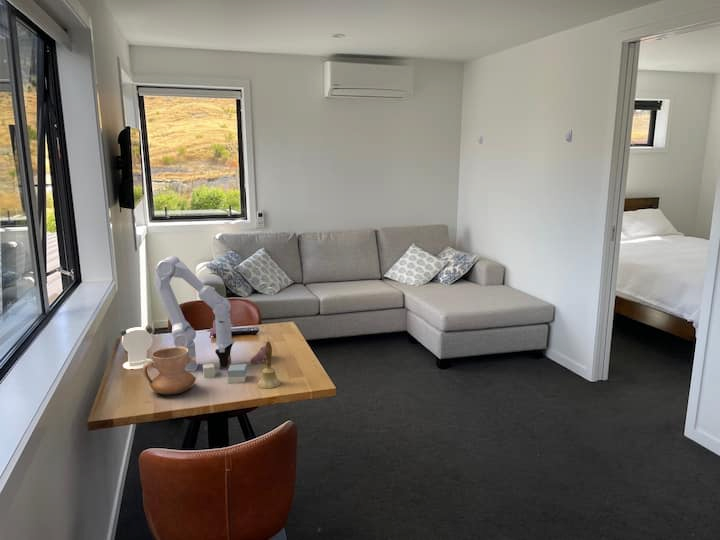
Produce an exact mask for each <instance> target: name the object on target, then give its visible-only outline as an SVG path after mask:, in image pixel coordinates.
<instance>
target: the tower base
mask: <svg viewBox="0 0 720 540" xmlns="http://www.w3.org/2000/svg"><path fill="white" fill-rule="evenodd" d="M245 378H247V373H246V374H245V377H228V376H227V384H233V383H234V384H236V383H239V382H240V383H245V382H246V379H245Z"/></svg>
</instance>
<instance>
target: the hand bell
mask: <svg viewBox="0 0 720 540" xmlns="http://www.w3.org/2000/svg"><path fill="white" fill-rule="evenodd" d="M264 346H265V356H266V358H265V360H266V361H265V363H266V365H265V368H264V369H263V370H262V374H261V378H260V380H259V381H258V382H257V386H258V387H259V388H260V387H261V389H274V388H278V387H279V386H281V384H282V382H281V380H279V378H278V377H277V374H276V369H275V368H273V367H272V360H271V359H272V358H271V357H272V355H273V347H272V344H271V342H270V341H266V342H265V345H264Z"/></svg>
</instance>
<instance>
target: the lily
mask: <svg viewBox="0 0 720 540" xmlns="http://www.w3.org/2000/svg"><path fill="white" fill-rule="evenodd" d="M212 322H213V323H212V327H211V328H209V329H208V330H206V333H207V332H208V333H210V334H209V337H211V336H212V337H214V336H215V335H214V334H216V324H215V319H214V320H213V321H212ZM232 327H234V324H232V323H231V328H232ZM213 335H214V336H213ZM209 337H208V338H209ZM212 337H211V338H212Z"/></svg>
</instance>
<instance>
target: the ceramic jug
mask: <svg viewBox="0 0 720 540" xmlns="http://www.w3.org/2000/svg"><path fill="white" fill-rule="evenodd" d="M188 354H189V352H188V349H187V348H184V347H175V346H171V347H166V348H162V349H158V350H155V351H153V352H152V353H151V358H152V359H151V360H153V362H147V363H146V364H145V365H144V366H143V368H142V373H143V376H144V378H145V379H146V380H147V382H148V384H149V387H151V388H150V389H152V390H153V392H155V393H157V394H161V395H167V396H171V395H172V396H173V395H177V394H181V393H184V392H187V390H189V389H190V388H192V387H193V385H194V384H195V382H196V380H197V376H195V375H194V374H193V373H191V371H186V370H184V369H185V366H186V364H188V363H189V362H192V361H193V362H195V361H196V362H197V357H196V358H193V357H192V358H188ZM148 366H149V367H151V368H154V369H156V370H157V372H159V373H158V375H156V376H155V377H153V379H151V377H150V375H149V374H148V368H149V367H148Z"/></svg>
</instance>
